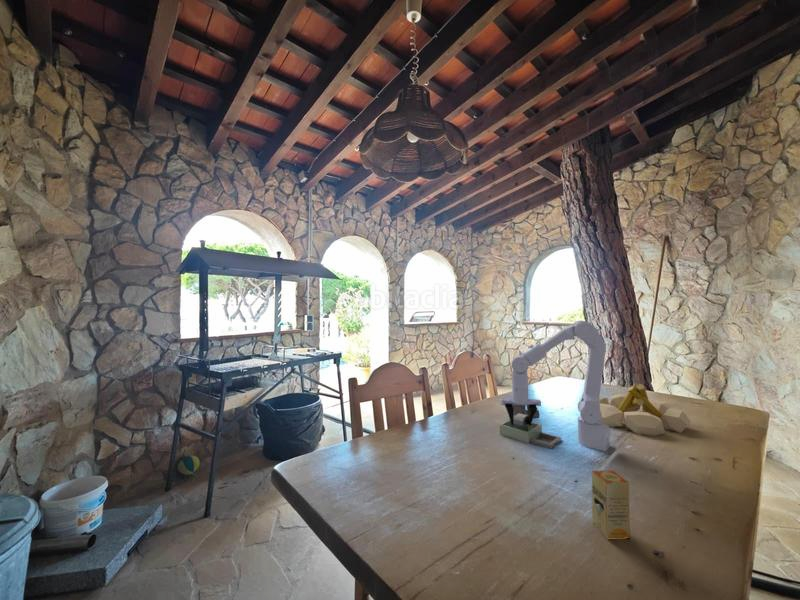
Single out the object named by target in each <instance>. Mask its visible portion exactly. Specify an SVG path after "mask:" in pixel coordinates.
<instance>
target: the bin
mask: <svg viewBox="0 0 800 600" xmlns="http://www.w3.org/2000/svg"><path fill="white" fill-rule="evenodd" d="M542 427H543V425H542V423H541V424H540V423H537V422H536V423H535V422H532V423H531V425H528V432H527V431H523V430H519V429H516V428H514V425H511V423H510V419H508V420H506V421H504V422H503V423H500V424H499V435H501V436H503V437H507V438H511V439H514V440H517V441H521V442H524V443H527V444H529V442H530V438H533V439H535V438H537V437H538V436H539V433H540V432H543V428H542Z"/></svg>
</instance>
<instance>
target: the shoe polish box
mask: <svg viewBox="0 0 800 600" xmlns="http://www.w3.org/2000/svg"><path fill="white" fill-rule="evenodd" d="M591 499H592V500H591V501H592V506H591V507H592V508H591V511H592V524H593V523H594V525H595V526H596V527H597V528H598V529H599V530H600V531H601V533H602V534H603V535H604V536H605V537H606V538H625V537H630V538H631V535H630V534H631V529H630V527H631V526H630V524H631V523H630V521H631V520H630V482H629V481H628V480H626V479H625V478H624V477H623V476H621V475H620V474H618V473H617V472H616V471H615V470H591ZM594 525H593V526H594ZM595 526H594V527H595ZM601 533H600V534H601ZM602 534H601V535H602ZM603 535H602V536H603ZM604 536H603V537H604ZM605 537H604V538H605ZM606 538H605V539H606Z"/></svg>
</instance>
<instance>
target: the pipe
mask: <svg viewBox="0 0 800 600" xmlns="http://www.w3.org/2000/svg"><path fill="white" fill-rule="evenodd" d="M512 406H513V408H514V411H513V416H515V415H517V414H518V413H520V414H525V415H528V411H527V409H526V405H512ZM539 418H540V411H539V409H537V411H536V412H535V414H534V416H533V419H532V420H534V419H539Z"/></svg>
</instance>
